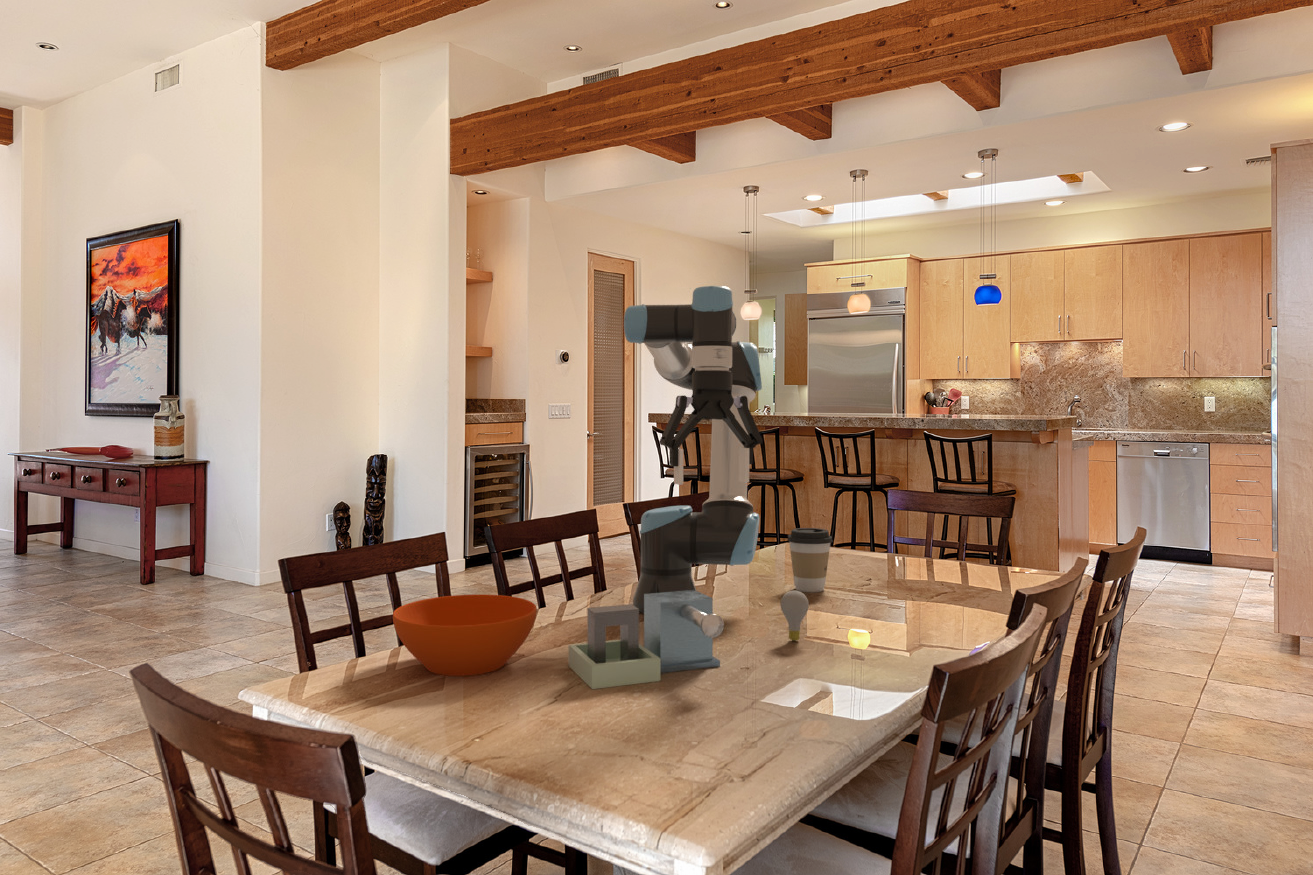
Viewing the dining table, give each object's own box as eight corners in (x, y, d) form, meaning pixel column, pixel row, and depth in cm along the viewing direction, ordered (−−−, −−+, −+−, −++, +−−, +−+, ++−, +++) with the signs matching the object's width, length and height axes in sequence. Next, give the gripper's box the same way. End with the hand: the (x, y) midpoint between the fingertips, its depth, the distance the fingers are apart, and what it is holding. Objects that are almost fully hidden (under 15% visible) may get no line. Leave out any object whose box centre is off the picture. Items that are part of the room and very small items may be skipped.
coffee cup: (836, 594, 219) (836, 533, 219) (790, 594, 219) (790, 533, 219) (828, 584, 231) (828, 527, 230) (784, 584, 231) (784, 527, 230)
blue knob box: (637, 658, 163) (637, 593, 163) (696, 651, 168) (697, 588, 167) (679, 690, 145) (680, 617, 144) (745, 682, 149) (746, 611, 149)
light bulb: (807, 645, 172) (808, 594, 172) (779, 643, 173) (779, 592, 173) (808, 638, 177) (809, 588, 177) (781, 636, 179) (781, 587, 178)
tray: (568, 665, 158) (568, 644, 158) (631, 658, 163) (631, 638, 163) (592, 689, 145) (592, 665, 145) (660, 680, 150) (660, 658, 150)
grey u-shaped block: (587, 667, 154) (587, 607, 154) (630, 663, 157) (630, 604, 157) (594, 674, 151) (594, 612, 150) (638, 669, 154) (638, 608, 153)
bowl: (410, 694, 143) (409, 632, 142) (380, 655, 165) (380, 602, 165) (557, 673, 154) (557, 616, 154) (511, 639, 176) (511, 589, 176)
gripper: (657, 368, 159) (657, 486, 160) (780, 370, 168) (780, 482, 169) (642, 369, 166) (642, 483, 167) (761, 371, 175) (761, 479, 176)
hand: (711, 483), depth 168 cm, fingers open, 13 cm apart
